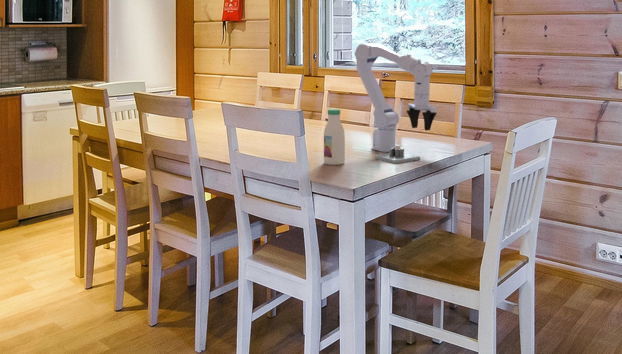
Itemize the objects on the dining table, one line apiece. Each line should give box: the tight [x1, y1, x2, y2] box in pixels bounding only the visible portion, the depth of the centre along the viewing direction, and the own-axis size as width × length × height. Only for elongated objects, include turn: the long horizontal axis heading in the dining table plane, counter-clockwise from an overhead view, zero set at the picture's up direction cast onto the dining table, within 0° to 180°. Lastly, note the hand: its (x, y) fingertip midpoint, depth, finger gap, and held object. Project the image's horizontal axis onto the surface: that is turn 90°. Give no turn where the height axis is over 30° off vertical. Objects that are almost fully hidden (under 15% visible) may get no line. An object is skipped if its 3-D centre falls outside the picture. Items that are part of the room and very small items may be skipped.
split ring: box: [389, 146, 405, 157], centre depth 244 cm, size 5×5×3 cm
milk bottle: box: [323, 108, 346, 166], centre depth 237 cm, size 8×8×20 cm
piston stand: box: [374, 144, 421, 164], centre depth 244 cm, size 12×12×5 cm
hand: (420, 128), depth 252 cm, fingers open, 7 cm apart
